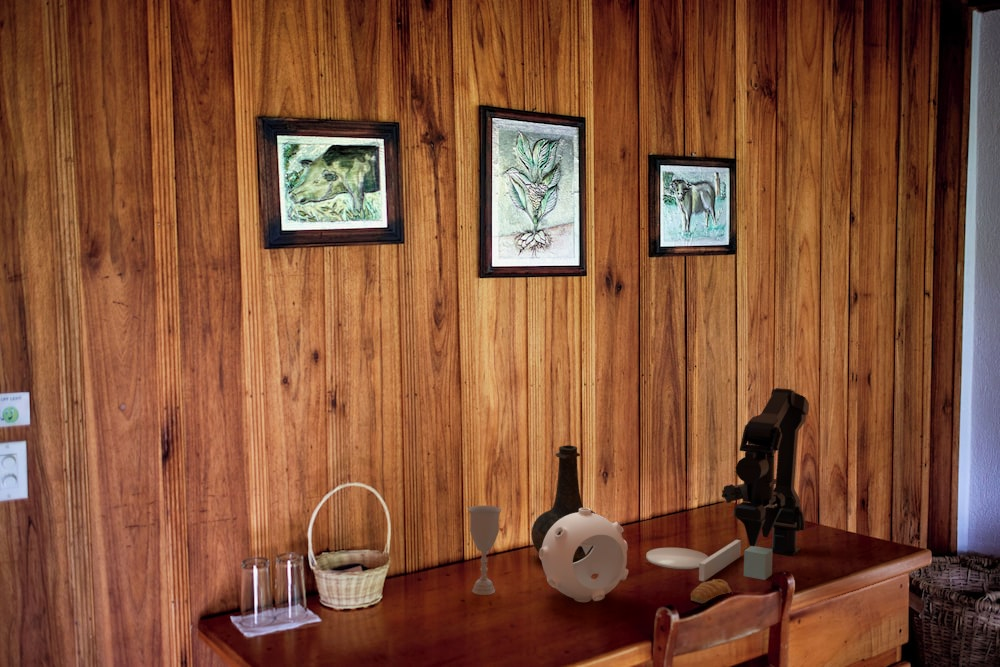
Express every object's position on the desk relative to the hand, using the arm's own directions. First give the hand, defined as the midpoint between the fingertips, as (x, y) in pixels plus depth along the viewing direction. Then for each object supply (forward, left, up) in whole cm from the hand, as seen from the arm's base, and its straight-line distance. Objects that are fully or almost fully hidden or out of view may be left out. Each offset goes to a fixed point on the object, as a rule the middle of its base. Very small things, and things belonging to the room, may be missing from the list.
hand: (758, 541), depth 218 cm
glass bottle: (+17, -41, -8) cm, 45 cm away
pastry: (+22, -3, -8) cm, 24 cm away
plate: (0, -20, -8) cm, 22 cm away
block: (0, 0, -8) cm, 8 cm away
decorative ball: (+39, -25, -8) cm, 47 cm away
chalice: (+47, -45, -8) cm, 66 cm away
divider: (0, -9, -8) cm, 12 cm away
